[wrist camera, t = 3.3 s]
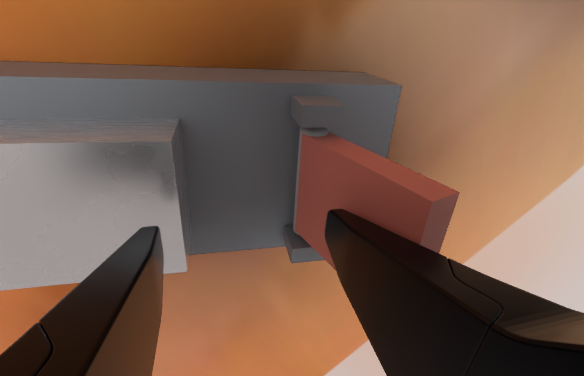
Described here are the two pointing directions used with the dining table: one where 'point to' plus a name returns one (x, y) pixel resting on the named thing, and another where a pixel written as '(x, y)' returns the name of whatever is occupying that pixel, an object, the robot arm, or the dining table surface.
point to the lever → (365, 192)
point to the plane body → (220, 132)
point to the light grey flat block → (87, 195)
